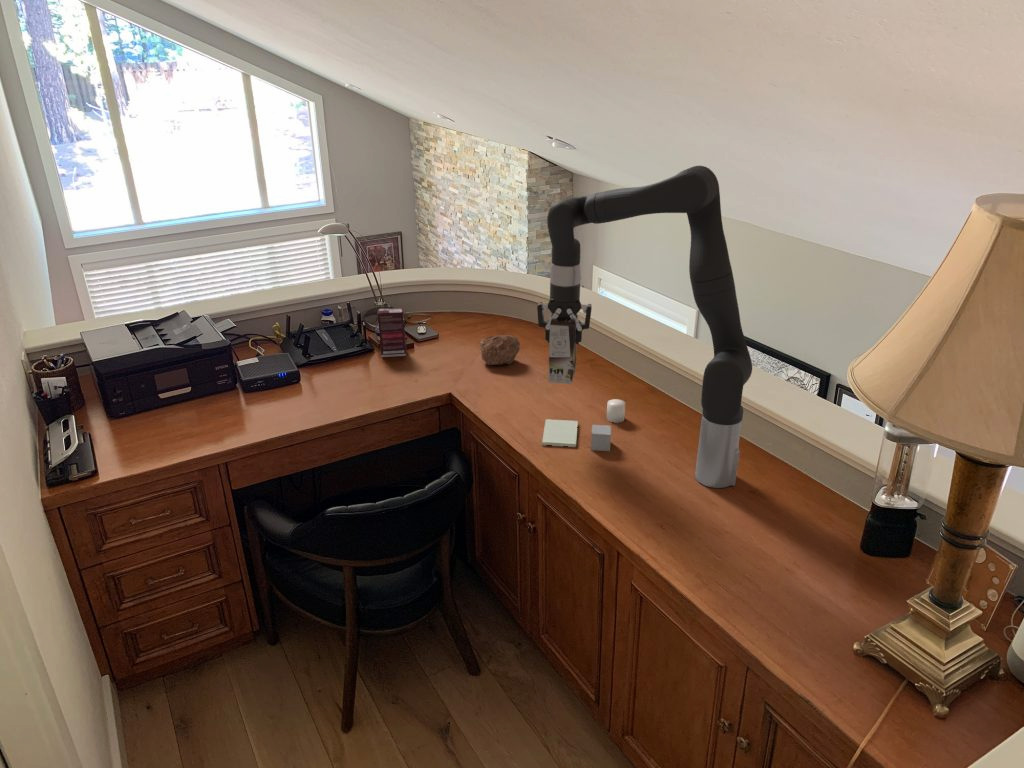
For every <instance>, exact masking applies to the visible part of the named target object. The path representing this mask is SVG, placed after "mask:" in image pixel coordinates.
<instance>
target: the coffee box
mask: <svg viewBox="0 0 1024 768" xmlns="http://www.w3.org/2000/svg"><path fill="white" fill-rule="evenodd" d="M576 330H577V328H576V323H575V322H572V320H565V319H563V320H558V319H556V320H555V322H551V323H550V338H549V343H548V345H549V346H548V347H549V348H548V377H547V378H548V381H547V382H548V383H553V384H565V385H571V384H573V381H574V377H575V374H576V369H577V347H578V344H576Z"/></svg>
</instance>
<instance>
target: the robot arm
mask: <svg viewBox="0 0 1024 768" xmlns="http://www.w3.org/2000/svg"><path fill="white" fill-rule="evenodd" d="M721 207H722V205H721V191H720V184H719V181H718V178H717V176H716V174H715V172H714V171H712V169H710V168H709V167H707V166H705V165H694V166H692V167H689V168H686V169H683V170H682V171H680V172H678V173H677V174H675V175H673V176H670V177H668V178H666V179H663V180H661V181H658V182H655V183H651V184H648V185H642V186H636V187H634V186H633V187H623V188H622V187H621V188H615V189H609V190H606V191H600V192H596V193H592V194H588V195H578V196H571V197H569V198H568V197H567V198H565V199H563V200H560V201H557V202H555V203H553V204H552V205H551V206H550V208H549V210H548V212H547V217H546V218H547V221H546V225H547V229H548V235H549V239H550V244H551V266H550V272H549V273H550V274H549V276H550V277H549V278H550V279H549V301H548V302H542V301H539V302H538V303H537V307H536V309H537V325H538V327H539V328H543V329H545V331H544V332H545V337H544V338H545V341H547V344H549V338H550V323H551V322H555V320H556V319H558V320H563V319H565V320H572V322H575V323H576V328H577V330H576V344H577V345H579V343H581V342H582V339H583V338H582V337H583V330H588V329H590V323H591V315H592V303H591V304H590V303H588V304H582V303H581V299H580V297H581V279H582V275H581V274H582V273H581V272H582V270H581V244H580V241H579V240H578V239H577V238H575V231H574V229H575V228H576V227H580V226H582V225H588V224H594V225H595V224H596V225H598V224H605V223H610V222H611V223H612V222H616V221H620V220H621V221H622V220H625V219H630V218H635V217H640V216H645V215H646V216H647V215H653V214H686V216H687V219H688V224H689V231H690V247H689V248H690V250H689V266H688V267H689V269H688V272H689V279H690V284H691V290H692V294H693V298H694V301H695V302H694V303H695V305H696V307H697V308H698V311H699V312H700V315H701V316H702V317H703V319H704V320H705V322H706V324H707V326H708V329H709V331H710V335H711V340H712V346H713V358H712V359H710V361H709V362H708V363H707V365H706V367H705V369H704V371H703V372H704V373H703V377H702V385H701V397H700V398H701V400H700V402H701V408H702V412H701V413H702V414H701V422H700V430H699V438H698V439H699V440H698V446H697V447H698V448H697V455H696V465H695V471H694V472H695V473H694V474H695V475H694V477H695V480H696V481H697V482H698V483H700V484H701V485H703V486H706V487H709V488H712V489H713V488H715V489H721V488H722V489H723V488H728V487H730V486H736V481H737V473H738V466H739V460H740V454H741V453H740V451H741V450H740V449H739V444H740V437H741V429H742V422H743V416H744V407H743V406H742V399H743V397H742V396H743V390H744V386H745V384H746V383H747V382H748V381H749V380H750V378H751V377H752V374H753V373H752V372H753V362H752V358H751V354H750V352H749V349H748V345H747V342H746V339H745V335H744V332H743V327H742V324H741V317H740V316H741V315H740V309H739V303H738V298H737V291H736V283H735V278H734V274H733V269H732V265H731V264H732V263H731V259H730V255H729V249H728V244H727V241H726V236H725V232H724V227H723V219H722V208H721ZM546 309H548V310H549V311H550V313H551V314H550V316H549V318H548V320H547V321H545V320H544V319H545V317H544V313H545V312H546ZM581 310H582V312H583V314H585V320H584V322H581V320H580V318H579V315H578V313H579V312H580V311H581Z"/></svg>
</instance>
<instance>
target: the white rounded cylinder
mask: <svg viewBox="0 0 1024 768" xmlns="http://www.w3.org/2000/svg"><path fill="white" fill-rule="evenodd" d="M606 405H607V406H606V421H608V422H609V421H610V423H612V422H614V423H613V424H619V422H620V423H623V422H624V421H625V414H626V413H625V411H626V402H625V401H624V400H622V399H617V398H616V399H615V398H613V399H610V400H608V401H607V404H606ZM622 421H623V422H622Z"/></svg>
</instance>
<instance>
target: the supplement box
mask: <svg viewBox="0 0 1024 768" xmlns="http://www.w3.org/2000/svg"><path fill="white" fill-rule="evenodd" d="M376 314H377V315H376V316H377V324H378V325H377V326H378V332H379V333H378V334H379V342H380V343H379V345H380V355H381V358H390V357H392V358H394V357H406V356H407V343H406V341H407V339H406V330H405V319H404V318H405V316H404V308H403V307H396V308H394V307H393V308H378V309H377V313H376Z"/></svg>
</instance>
